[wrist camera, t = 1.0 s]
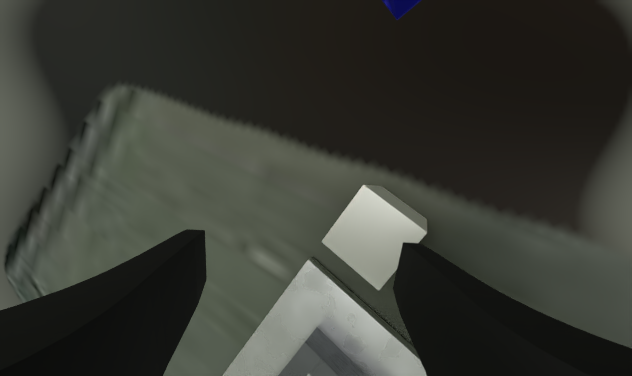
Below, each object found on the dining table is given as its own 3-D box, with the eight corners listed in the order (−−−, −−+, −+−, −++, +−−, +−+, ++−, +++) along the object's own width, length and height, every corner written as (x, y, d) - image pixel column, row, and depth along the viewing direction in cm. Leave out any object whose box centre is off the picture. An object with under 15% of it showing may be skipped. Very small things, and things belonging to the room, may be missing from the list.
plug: (426, 219, 21) (427, 232, 15) (392, 260, 22) (378, 291, 16) (381, 186, 22) (363, 184, 16) (350, 226, 23) (321, 241, 17)
